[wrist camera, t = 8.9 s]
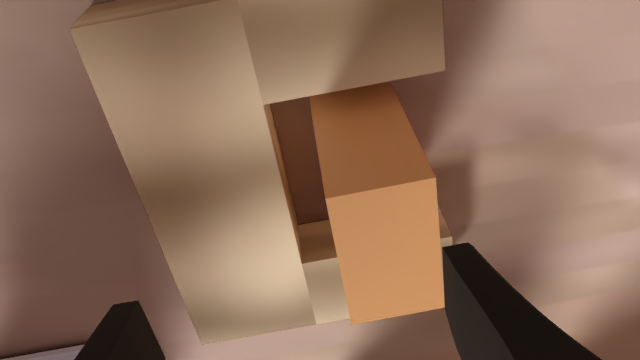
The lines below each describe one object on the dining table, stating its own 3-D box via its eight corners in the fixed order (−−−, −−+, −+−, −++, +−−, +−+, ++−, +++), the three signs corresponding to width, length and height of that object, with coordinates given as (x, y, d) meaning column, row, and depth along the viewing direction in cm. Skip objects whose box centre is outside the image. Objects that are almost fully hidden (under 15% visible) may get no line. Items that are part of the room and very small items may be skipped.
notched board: (439, 260, 26) (454, 299, 24) (206, 302, 26) (201, 344, 24) (420, -58, 18) (440, -42, 16) (90, 5, 18) (69, 29, 16)
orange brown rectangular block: (399, 185, 24) (444, 307, 18) (329, 198, 24) (351, 325, 18) (387, 75, 21) (435, 177, 15) (307, 91, 21) (325, 199, 15)
